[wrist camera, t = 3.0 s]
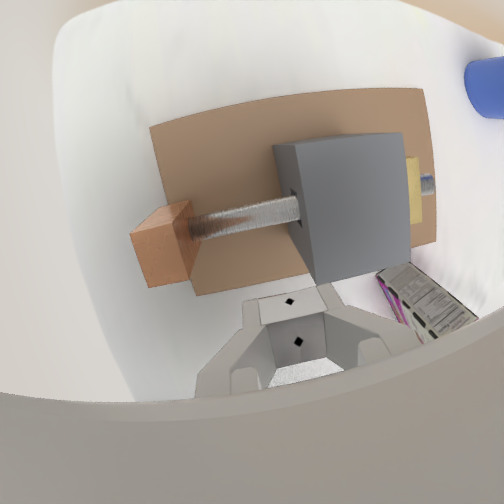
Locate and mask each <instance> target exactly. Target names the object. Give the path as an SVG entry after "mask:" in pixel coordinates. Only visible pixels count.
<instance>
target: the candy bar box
mask: <svg viewBox="0 0 504 504" xmlns="http://www.w3.org/2000/svg"><path fill="white" fill-rule="evenodd" d="M376 277H377V279H378V281H379V283H380V285H381V287H382V289H383V291H384V293H385V295H386V297H387V299H388V301H389V303H390V305H391V307H392V309H393V311H394V313H395V315H396V317H397V319H398V321H399V323H401V324H404V325H407V326H408V327H409V328H410V329H411V331H412V332H413V333H414V334H415V336H416V337H417V338H418V339H419V341H420V342H421V343H422V344H424V343H427V342H429V341H432V340H434V339H437V338H439V337H441V336H444V335H446V334H448V333H451V332H453V331H455V330H457V329H460V328H462V327H464V326H466V325H468V324H470V323H472V322H474V321H476V320H478V319H479V318H478V317H477V316H476V315H475V314H474V313H473V312H471V311H470V310H469V309H468V308H466V306H464V305H463V304H462V303H461V302H460V301H459V300H457V299H456V298H455V297H454V296H452V295H451V294H450V293H449V292H448V291H446V290H445V289H444V288H443V287H441V286H440V285H439V284H437V283H436V282H435V281H434V280H432V279H431V278H430V277H429V276H427V275H426V274H425V273H424V272H422V271H421V270H420V269H418V268H417V267H416V266H415V265H413V264H412V263H411V262H408V263H405V264H401V265H397V266H394V267H390V268H386V269H384V270H383V271H381V272H380V273H379V274H377V275H376Z"/></svg>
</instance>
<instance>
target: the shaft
mask: <svg viewBox="0 0 504 504" xmlns="http://www.w3.org/2000/svg"><path fill="white" fill-rule="evenodd" d="M420 183H421V196H425V195H431V194H433V193H434V192H435V181H434V178H433V176H432V175H431V174H429V173H424V174H420ZM300 219H301V216H300V210H299V204H298V198H297V194H296V195H291V196H286V197H281V198H276V199H271V200H266V201H262V202H257V203H252V204H248V205H243V206H238V207H234V208H229V209H225V210H220V211H216V212H212V213H207V214H203V215H199V216H195V214H194V210H193V206H192V203H191V199H190V200H186V201H182V202H178V203H174V204H170V205H167V206H163V207H159V208H158V209H157V210H156V211H155V212H153V213H152V214H151V215H150V216H149V217H148V218H147V219H145V220H144V221H143V222H142V223H141V224H140V225H139V226H138V227H137V228H135V229H134V230H133V231H132V232H131V233H130V237H131V240H132V243H133V246H134V249H135V252H136V255H137V258H138V261H139V263H140V266H141V269H142V272H143V274H144V277H145V280H146V282H147V285H148V288H152V287H157V286H162V285H167V284H172V283H177V282H182V281H186V280H189V279H190V275H191V272H192V269H193V266H194V263H195V260H196V257H197V254H198V251H199V248H200V245H201V242H202V240H207V239H211V238H216V237H220V236H225V235H229V234H234V233H238V232H243V231H248V230H252V229H257V228H262V227H266V226H271V225H276V224H281V223H285V222H290V221H295V220H300Z"/></svg>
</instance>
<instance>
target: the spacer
mask: <svg viewBox="0 0 504 504" xmlns="http://www.w3.org/2000/svg"><path fill="white" fill-rule="evenodd" d="M405 156H406V155H405ZM406 165H407V175H408V187H409V203H410V225H412V224H416V223H420V222H422V200H421V183H420V170H419V160H418V157H413V156H406Z"/></svg>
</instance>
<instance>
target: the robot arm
mask: <svg viewBox="0 0 504 504" xmlns="http://www.w3.org/2000/svg"><path fill="white" fill-rule="evenodd" d="M242 312H243V329H240V330H238V331H237V333H236V334H235V335H234V336H233V337H232V338H231V339H230V340H229V341H228V342H227V343H226V344H225V346H224V347H223V348H222V349H221V350H220V351H219V352H218V353H217V354H216V355H215V356H214V357H213V358H212V359H211V360H210V361H209V363H208V364H207V365H206V366H205V367H204V368H203V369H202V370H201V371H200V372H199V373H198V375H197V382H196V390H195V397H194V399H184V400H171V401H153V402H81V401H65V400H52V399H42V398H34V397H27V396H19V395H13V394H8V393H2V392H0V504H504V306H503V307H502V308H500V309H498V310H496V311H494V312H492V313H490V314H488V315H486V316H485V317H483V318H480V319H478V320H476V321H474V322H472V323H470V324H468V325H466V326H464V327H462V328H460V329H457V330H455V331H453V332H451V333H448V334H446V335H444V336H441V337H439V338H437V339H434V340H432V341H429V342H427V343H424V344H422V343H421V342H420V341H419V339H418V338H417V337H416V336H415V334H414V333H413V332H412V331H411V329H410V328H409V327H408V326H407V325H404V324H401V323H399V322H396V321H393V320H390V319H387V318H384V317H381V316H378V315H376V314H373V313H370V312H367V311H364V310H361V309H359V308H356V307H353V306H350V305H347V306H345V305H344V304H343V302H342V300H341V299H340V297H339V296H338V294H337V292H336V291H335V289H334V288H333V286H332V284H331V283H325V284H322V285H318V286H314V287H310V288H306V289H302V290H298V291H294V292H290V293H284V294H279V295H274V296H269V297H264V298H258V299H252V300H248V301H243V303H242ZM325 357H327V358H328V359H330V360H331V361H333V362H334V363H335V364H337V365H338V366H340V367H341V368H343V369H344V371H341V372H337V373H333V374H329V375H326V376H322V377H318V378H314V379H309V380H305V381H301V382H296V383H292V384H287V385H282V386H277V387H272V388H267V387H268V385H269V383H270V381H271V379H272V378H273V376H274V374H275V372H276V369H277V368H281V367H285V366H290V365H294V364H298V363H302V362H307V361H311V360H316V359H320V358H325Z"/></svg>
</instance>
